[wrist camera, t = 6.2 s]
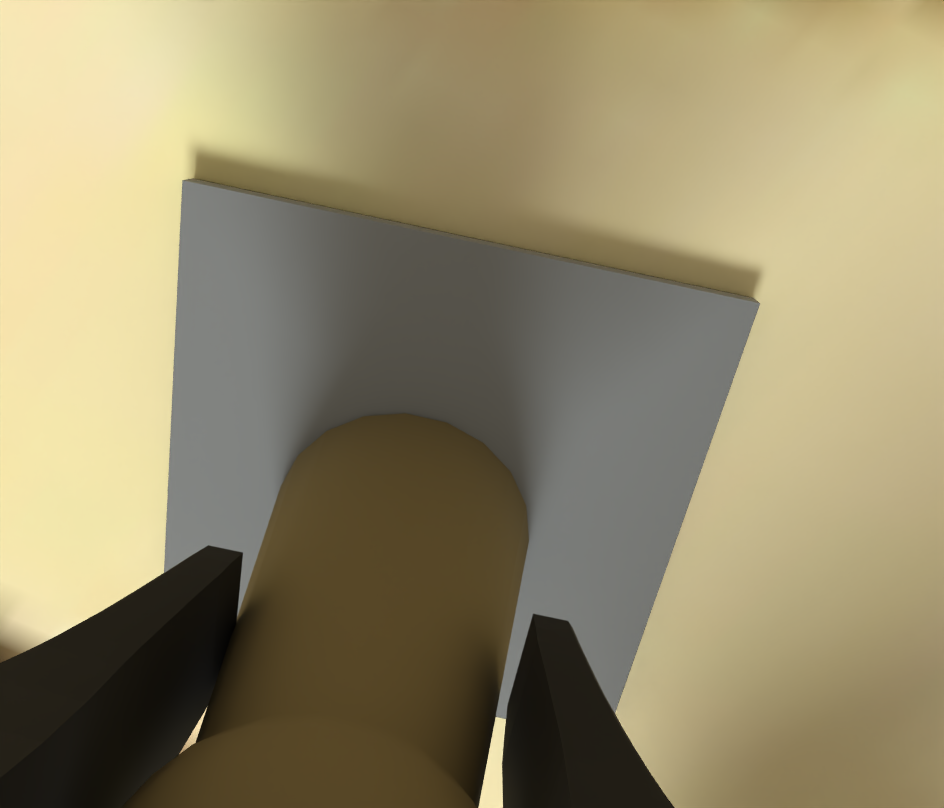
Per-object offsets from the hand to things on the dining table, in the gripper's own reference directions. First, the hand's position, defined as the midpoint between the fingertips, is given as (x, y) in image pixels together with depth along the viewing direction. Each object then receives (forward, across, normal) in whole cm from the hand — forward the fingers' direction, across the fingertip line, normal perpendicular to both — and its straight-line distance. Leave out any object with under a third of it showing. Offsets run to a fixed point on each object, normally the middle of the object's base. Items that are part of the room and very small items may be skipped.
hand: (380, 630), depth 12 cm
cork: (+5, 0, +1) cm, 5 cm away
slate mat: (+5, 0, 0) cm, 5 cm away
